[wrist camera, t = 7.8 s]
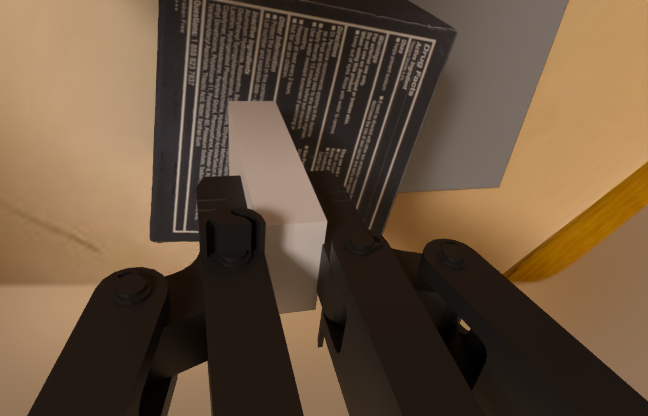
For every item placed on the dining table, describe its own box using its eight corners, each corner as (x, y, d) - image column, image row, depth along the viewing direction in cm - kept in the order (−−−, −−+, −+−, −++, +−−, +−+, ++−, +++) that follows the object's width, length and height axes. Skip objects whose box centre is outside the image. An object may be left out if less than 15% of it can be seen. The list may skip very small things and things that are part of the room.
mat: (202, 199, 26) (203, 203, 26) (184, -160, 17) (184, -161, 17) (495, 183, 31) (498, 186, 31) (600, -102, 22) (606, -101, 22)
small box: (154, 167, 24) (343, 183, 28) (145, 248, 19) (379, 256, 22) (165, -63, 19) (401, -7, 22) (158, -36, 13) (466, 32, 17)
